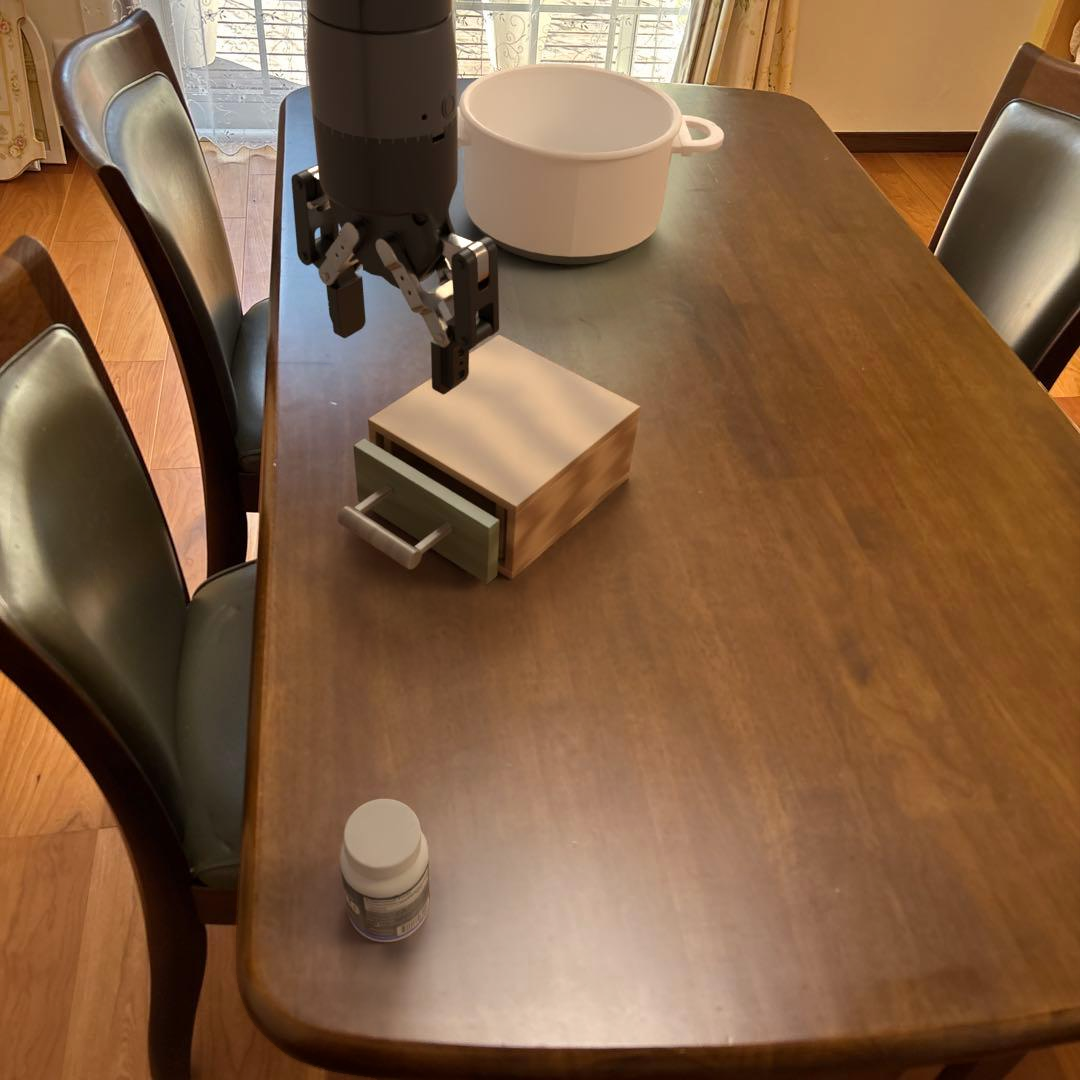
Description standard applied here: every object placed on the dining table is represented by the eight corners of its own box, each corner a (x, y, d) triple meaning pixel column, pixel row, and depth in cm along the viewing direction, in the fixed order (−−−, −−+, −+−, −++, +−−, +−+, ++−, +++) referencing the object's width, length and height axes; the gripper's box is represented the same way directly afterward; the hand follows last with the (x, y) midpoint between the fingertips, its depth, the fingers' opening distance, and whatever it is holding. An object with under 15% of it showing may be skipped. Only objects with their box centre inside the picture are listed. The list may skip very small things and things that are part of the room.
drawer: (441, 623, 73) (441, 567, 68) (310, 534, 78) (303, 477, 74) (601, 486, 84) (609, 431, 80) (477, 417, 89) (478, 362, 85)
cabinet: (511, 580, 77) (516, 507, 72) (372, 492, 83) (367, 418, 78) (629, 478, 86) (640, 406, 81) (496, 405, 92) (498, 333, 87)
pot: (688, 182, 125) (708, 68, 116) (723, 284, 109) (750, 160, 99) (416, 174, 123) (413, 55, 113) (411, 277, 106) (407, 149, 97)
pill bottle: (345, 871, 60) (333, 796, 54) (425, 860, 61) (423, 785, 55) (349, 951, 57) (337, 880, 51) (434, 938, 57) (432, 867, 52)
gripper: (236, 80, 54) (276, 339, 65) (437, 170, 48) (442, 436, 59) (341, 43, 58) (360, 292, 69) (537, 121, 52) (523, 378, 64)
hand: (398, 358), depth 64 cm, fingers open, 8 cm apart
